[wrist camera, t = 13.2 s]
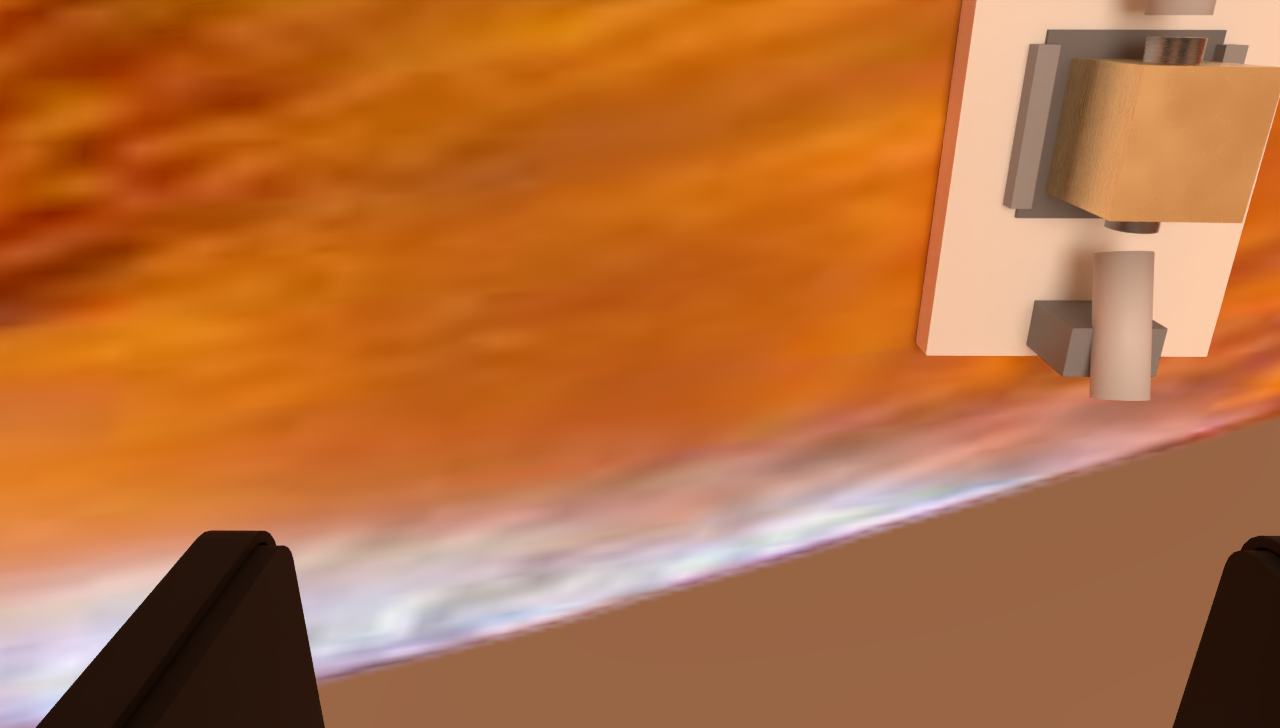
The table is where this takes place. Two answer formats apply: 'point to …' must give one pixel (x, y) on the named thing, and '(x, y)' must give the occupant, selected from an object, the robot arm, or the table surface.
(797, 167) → the table surface
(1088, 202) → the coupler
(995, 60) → the shaft frame
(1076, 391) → the table surface
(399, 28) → the table surface
